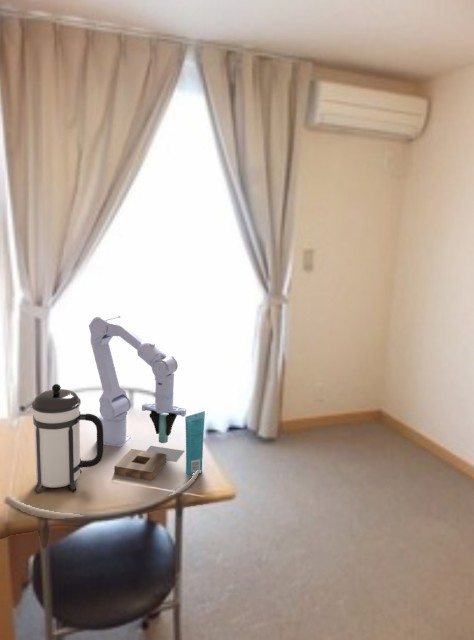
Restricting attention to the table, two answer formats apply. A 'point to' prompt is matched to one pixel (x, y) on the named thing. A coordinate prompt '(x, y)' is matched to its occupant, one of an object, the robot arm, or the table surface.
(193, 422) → the teal shampoo bottle
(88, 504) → the table surface
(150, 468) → the hole block
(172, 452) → the mat
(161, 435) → the peg
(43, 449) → the coffee press
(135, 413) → the table surface
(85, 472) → the table surface
